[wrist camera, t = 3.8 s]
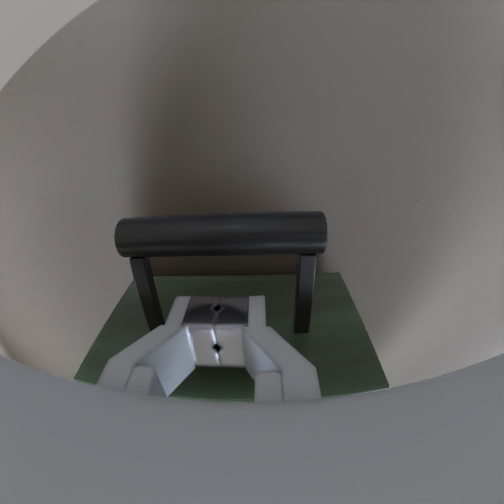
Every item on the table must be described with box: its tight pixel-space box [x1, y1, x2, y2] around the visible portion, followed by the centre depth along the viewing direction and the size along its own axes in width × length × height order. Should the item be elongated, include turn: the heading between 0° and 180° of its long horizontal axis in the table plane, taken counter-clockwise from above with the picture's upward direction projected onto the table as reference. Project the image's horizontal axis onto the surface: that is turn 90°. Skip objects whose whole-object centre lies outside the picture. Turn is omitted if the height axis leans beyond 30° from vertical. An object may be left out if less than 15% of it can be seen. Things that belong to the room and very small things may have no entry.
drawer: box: [74, 211, 389, 402], centre depth 14 cm, size 20×12×8 cm, turn 2°
